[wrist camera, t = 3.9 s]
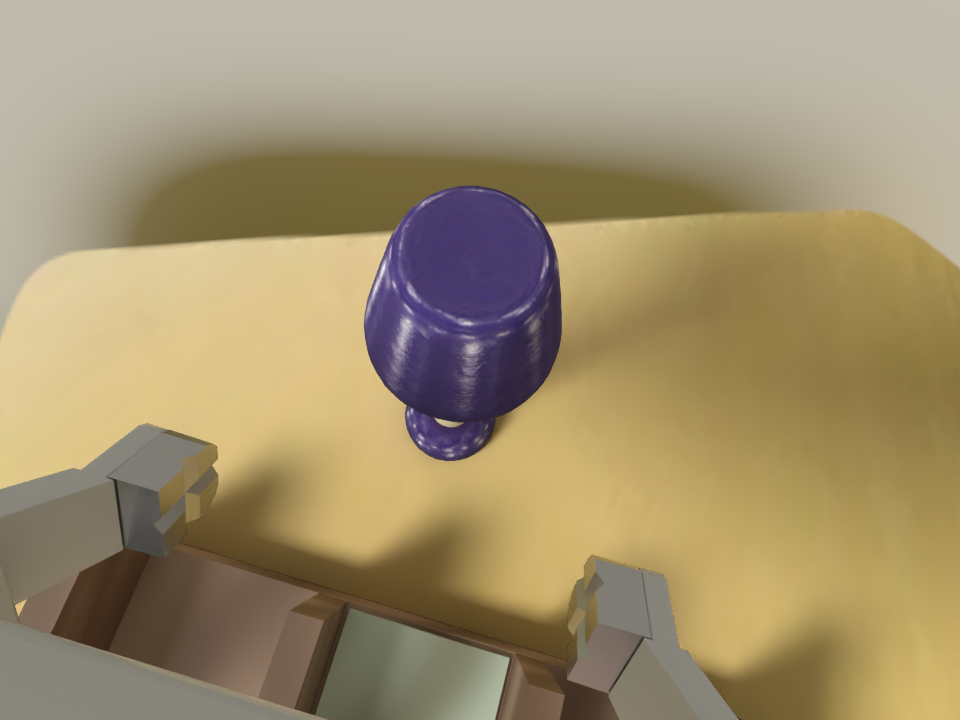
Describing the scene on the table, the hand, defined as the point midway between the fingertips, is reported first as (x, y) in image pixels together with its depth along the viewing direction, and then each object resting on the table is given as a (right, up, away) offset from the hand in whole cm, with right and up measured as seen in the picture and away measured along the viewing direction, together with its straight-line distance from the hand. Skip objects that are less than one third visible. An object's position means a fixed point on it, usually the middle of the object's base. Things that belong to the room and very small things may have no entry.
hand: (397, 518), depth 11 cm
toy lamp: (+1, 0, +14) cm, 14 cm away
